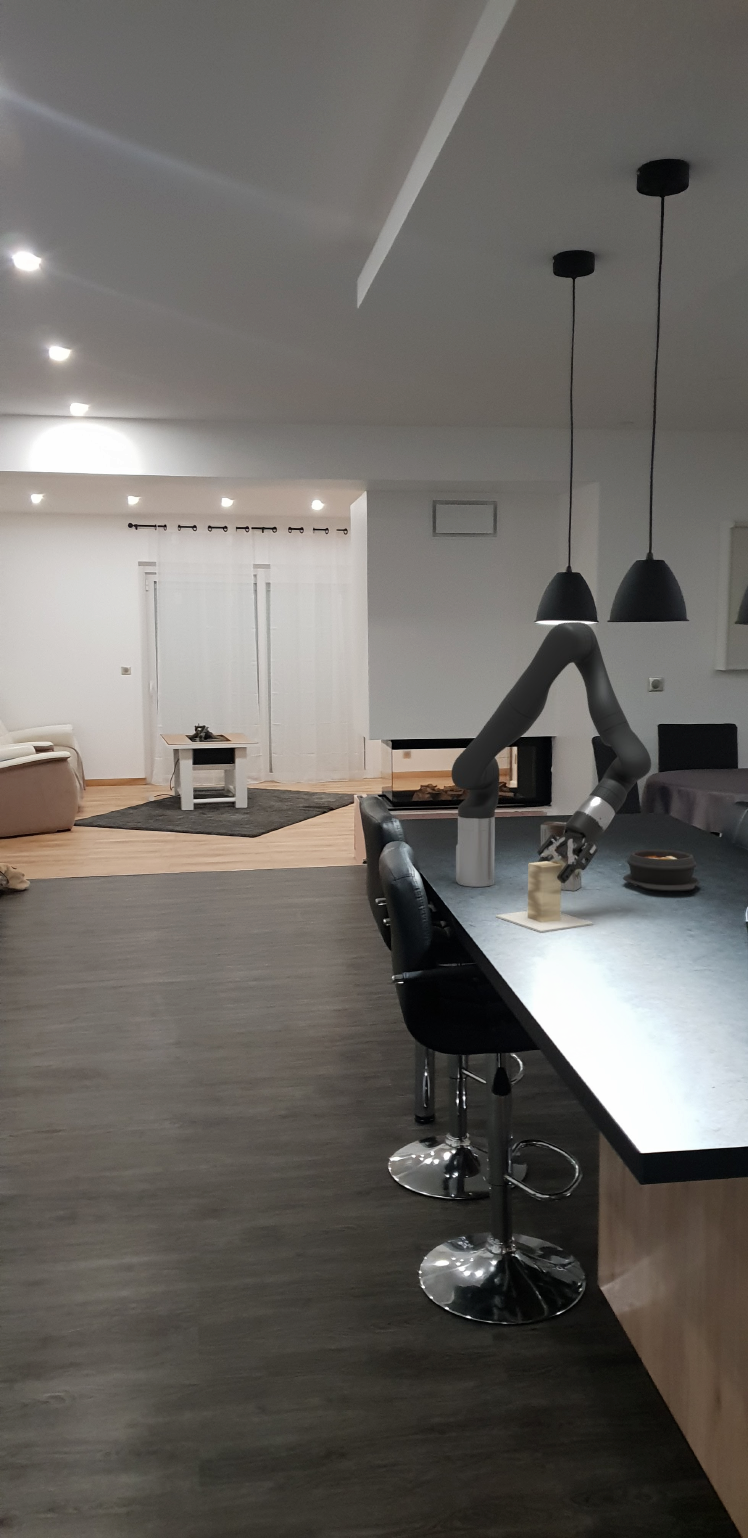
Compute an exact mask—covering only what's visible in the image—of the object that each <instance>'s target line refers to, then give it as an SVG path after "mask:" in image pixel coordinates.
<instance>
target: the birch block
mask: <svg viewBox="0 0 748 1538" xmlns="http://www.w3.org/2000/svg"><path fill="white" fill-rule="evenodd" d="M527 866H528V867H527V911H528V918H530V919H533V920H536V921H539V922H542V923H543V922H550V921H557V920H560V917H561V913H562V912H561V909H562V908H561V907H562V906H561V903H562V890H561V882H560V881H559V880H558V879H557V876H558V874H559V873H560V872H561V865H560V864H556V863H552V862H548V861H544V862H538V861H537V862H536V861H535V862H529V863H528V865H527Z"/></svg>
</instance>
